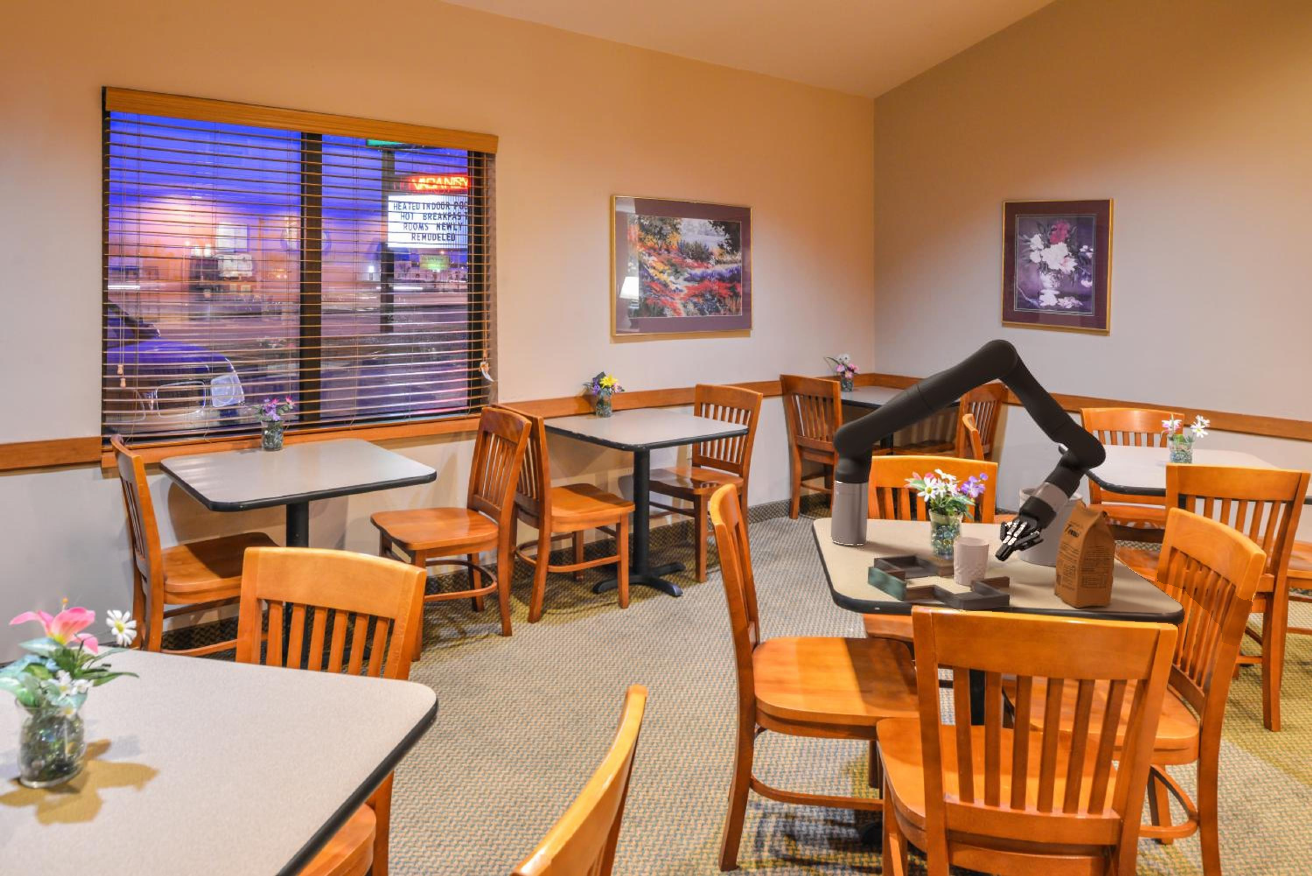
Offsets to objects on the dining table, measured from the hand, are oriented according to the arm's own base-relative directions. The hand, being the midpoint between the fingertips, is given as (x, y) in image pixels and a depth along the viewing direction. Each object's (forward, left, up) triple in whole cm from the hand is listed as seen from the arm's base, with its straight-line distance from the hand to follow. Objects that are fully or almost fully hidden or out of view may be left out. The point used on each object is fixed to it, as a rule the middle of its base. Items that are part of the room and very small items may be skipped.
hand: (999, 558), depth 218 cm
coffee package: (+19, +7, -5) cm, 21 cm away
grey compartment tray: (0, -17, -5) cm, 18 cm away
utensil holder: (-10, +24, -5) cm, 26 cm away
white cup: (0, -8, -5) cm, 10 cm away
